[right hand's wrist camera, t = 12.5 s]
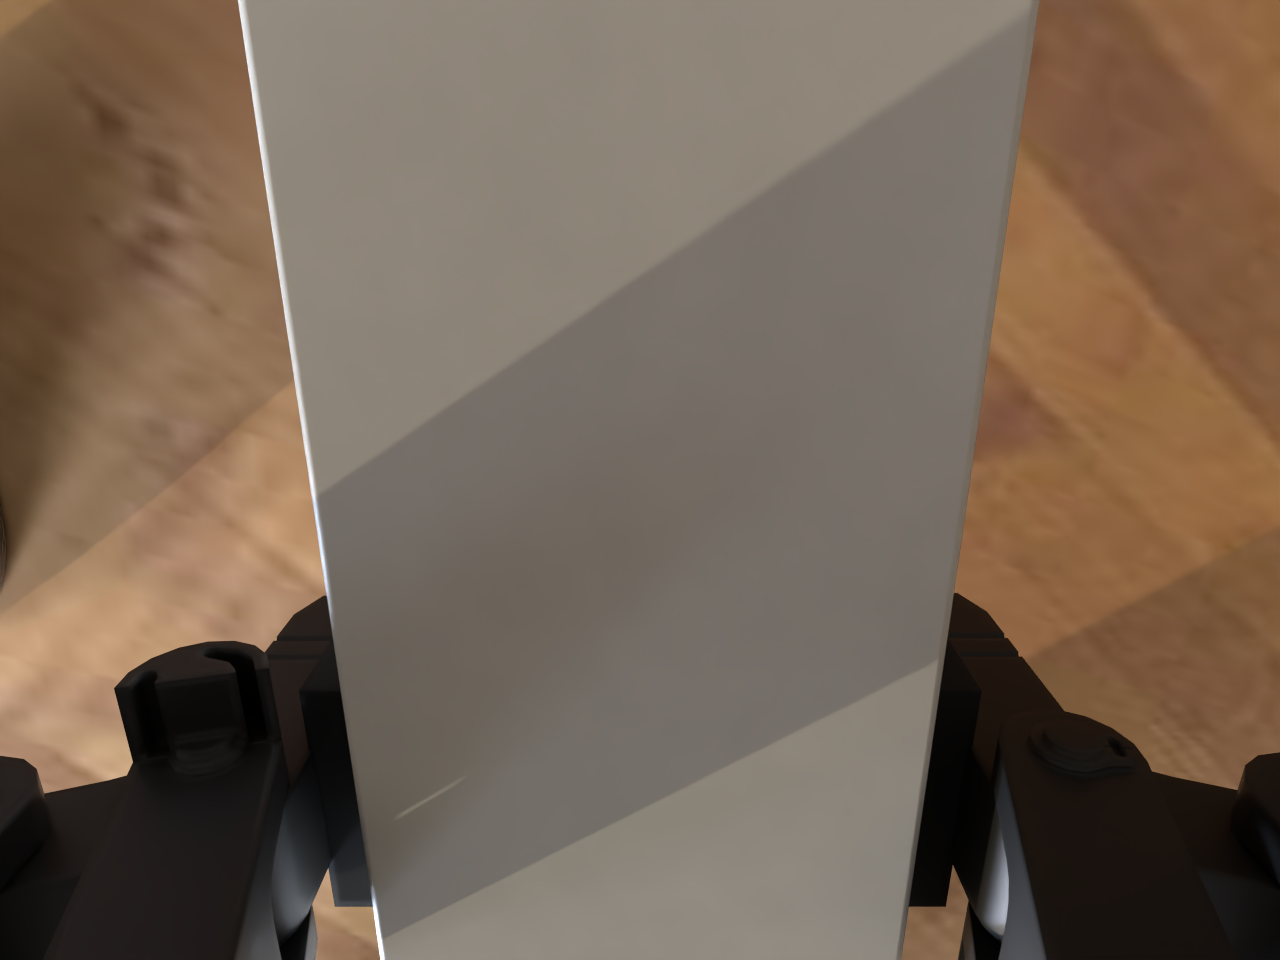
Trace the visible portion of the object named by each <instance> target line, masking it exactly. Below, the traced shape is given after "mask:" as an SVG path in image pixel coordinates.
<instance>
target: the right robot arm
mask: <svg viewBox="0 0 1280 960" xmlns="http://www.w3.org/2000/svg"><path fill="white" fill-rule="evenodd" d="M5 564H6V533H5V527H4V521H3V515H2V511H1V508H0V587H1V584H2V581H3V576H4V570H5ZM114 690H115V694H116V698H117V702H118V705H119V709H120V713H121V717H122V721H123V725H124V729H125V732H126V736H127V740H128V744H129V748H130V752H131V756H132V760H133V764H132V766H131V768H130V770H129V772H128V775H127V776H123V777H120V778H116V779H112V780H108V781H104V782H99V783H94V784H89V785H84V786H79V787H74V788H69V789H65V790H60V791H55V792H50V793H45V794H44V792H43V788H42V785H41V782H40V779H39V775H38V772H37V769H36V768H35V767H33V766H32V765H31V764H29V763H28V762H27V761H26V760H24V759H19V758H12V757H5V756H0V960H315V958H316V949H317V940H318V938H317V931H316V924H315V918H314V912H313V907H312V903H313V901H314V898H315V896H316V894H317V892H318V889H319V887H320V885H321V883H322V880H323V878H324V876H325V874H326V871H327V869H328V868H329V874H330V880H331V886H332V892H333V898H334V904H335V907H373V904H372V897H371V890H370V883H369V877H368V870H367V863H366V857H365V850H364V843H363V836H362V830H361V823H360V816H359V810H358V803H357V796H356V789H355V783H354V776H353V769H352V763H351V756H350V749H349V742H348V736H347V729H346V722H345V716H344V709H343V702H342V695H341V689H340V682H339V675H338V668H337V662H336V655H335V648H334V642H333V635H332V628H331V621H330V615H329V608H328V601H327V596H322V597H321V598H319V599H318V600H316V601H315V602H313V603H311V604H310V605H308V606H307V607H305V608H304V609H302V610H300V611H299V612H297V613H296V614H294V615H293V617H292V618H291V619H290V620H289V622H288V623H287V624H286V626H285V627H284V628H283V629H282V631H281V632H280V633H279V635H278V636H277V641H273V642H272V644H271V645H270V646H269V648H268V649H267V650H266V652H265V653H264V652H263V651H262V650H260V649H259V648H258V647H256V646H255V645H251V644H246V643H242V642H237V641H214V642H204V643H199V644H195V645H190V646H185V647H180V648H177V649H175V650H172V651H169V652H167V653H164V654H162V655H159V656H156V657H154V658H151V659H150V660H148V661H146V662H145V663H143V664H141V665H140V666H138V667H137V668H135V669H133V670H132V671H130V672H128V674H127V675H126V676H125V677H124V678H123V679H122V680H121V681H120V682H119V684H118V685H117V686H116V687H115V688H114ZM952 866H954V868H955V870H956V873H957V875H958V877H959V879H960V882H961V884H962V886H963V888H964V890H965V893H966V895H967V897H968V899H969V901H968V907H967V912H966V918H965V923H964V929H963V935H962V940H961V946H960V951H959V957H958V960H1280V753H1272V754H1265V755H1258V756H1257V757H1256V758H1254V759H1253V760H1252V761H1250V762H1249V763H1248V764H1246V765H1245V768H1244V771H1243V775H1242V778H1241V781H1240V784H1239V788H1238V790H1234V789H1229V788H1224V787H1219V786H1214V785H1210V784H1205V783H1200V782H1195V781H1190V780H1185V779H1180V778H1175V777H1171V776H1167V775H1163V774H1160V773H1156V772H1152V771H1151V769H1150V766H1149V764H1148V762H1147V760H1146V759H1145V758H1144V757H1143V755H1142V754H1141V753H1140V751H1139V750H1138V749H1137V747H1136V746H1135V745H1134V744H1133V743H1132V742H1131V741H1129V740H1128V739H1126V738H1125V737H1124V736H1122V735H1121V734H1119V733H1118V732H1117V731H1115V730H1114V729H1112V728H1111V727H1108V726H1106V725H1104V724H1102V723H1099V722H1097V721H1095V720H1092V719H1090V718H1088V717H1086V716H1082V715H1078V714H1073V713H1069V712H1065V711H1064V710H1063V709H1062V707H1061V706H1060V705H1059V704H1058V702H1057V701H1056V700H1055V698H1054V697H1053V696H1052V695H1051V693H1050V692H1049V691H1048V690H1047V688H1046V687H1045V686H1044V684H1043V683H1042V682H1041V681H1040V679H1039V678H1038V677H1037V675H1036V674H1035V673H1034V672H1033V670H1032V669H1031V668H1030V666H1029V665H1028V664H1027V663H1026V661H1025V660H1024V659H1023V657H1019V656H1018V651H1017V650H1016V648H1015V647H1014V646H1013V645H1012V643H1011V642H1010V641H1009V639H1008V638H1004V633H1003V632H1002V630H1001V629H1000V628H999V627H998V625H997V624H996V623H995V621H994V620H993V619H992V618H991V616H990V615H989V614H988V612H986V611H985V610H983V609H982V608H980V607H979V606H977V605H975V604H974V603H972V602H971V601H969V600H967V599H966V598H964V597H963V596H961V595H960V594H958V593H954V595H953V602H952V609H951V616H950V623H949V630H948V637H947V644H946V651H945V658H944V665H943V671H942V678H941V685H940V692H939V699H938V706H937V713H936V720H935V727H934V734H933V741H932V748H931V755H930V762H929V768H928V775H927V782H926V789H925V796H924V803H923V810H922V817H921V824H920V831H919V838H918V845H917V852H916V859H915V865H914V872H913V879H912V886H911V893H910V900H909V907H946V901H947V895H948V889H949V884H950V878H951V872H952Z"/></svg>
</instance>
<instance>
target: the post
mask: <svg viewBox="0 0 1280 960" xmlns="http://www.w3.org/2000/svg"><path fill="white" fill-rule="evenodd" d="M238 4H239V10H240V17H241V24H242V30H243V37H244V44H245V51H246V57H247V64H248V71H249V77H250V84H251V91H252V98H253V104H254V111H255V118H256V124H257V131H258V138H259V145H260V151H261V158H262V165H263V171H264V178H265V185H266V192H267V198H268V205H269V212H270V218H271V225H272V232H273V239H274V245H275V252H276V259H277V265H278V272H279V279H280V286H281V292H282V299H283V306H284V312H285V319H286V326H287V333H288V339H289V346H290V353H291V360H292V366H293V373H294V380H295V386H296V393H297V400H298V407H299V413H300V420H301V427H302V433H303V440H304V447H305V454H306V460H307V467H308V474H309V480H310V487H311V494H312V501H313V507H314V514H315V521H316V527H317V534H318V541H319V548H320V554H321V561H322V568H323V574H324V581H325V588H326V595H327V601H328V608H329V615H330V621H331V628H332V635H333V642H334V648H335V655H336V662H337V668H338V675H339V682H340V689H341V695H342V702H343V709H344V716H345V722H346V729H347V736H348V742H349V749H350V756H351V763H352V769H353V776H354V783H355V789H356V796H357V803H358V810H359V816H360V823H361V830H362V836H363V843H364V850H365V857H366V863H367V870H368V877H369V883H370V890H371V897H372V904H373V910H374V917H375V924H376V930H377V937H378V944H379V951H380V957H381V960H901V956H902V949H903V942H904V935H905V928H906V921H907V914H908V907H909V900H910V893H911V886H912V879H913V872H914V865H915V859H916V852H917V845H918V838H919V831H920V824H921V817H922V810H923V803H924V796H925V789H926V782H927V775H928V768H929V762H930V755H931V748H932V741H933V734H934V727H935V720H936V713H937V706H938V699H939V692H940V685H941V678H942V671H943V665H944V658H945V651H946V644H947V637H948V630H949V623H950V616H951V609H952V602H953V595H954V588H955V581H956V575H957V568H958V561H959V554H960V547H961V540H962V533H963V526H964V519H965V512H966V505H967V498H968V491H969V484H970V478H971V471H972V464H973V457H974V450H975V443H976V436H977V429H978V422H979V415H980V408H981V401H982V394H983V387H984V381H985V374H986V367H987V360H988V353H989V346H990V339H991V332H992V325H993V318H994V311H995V304H996V297H997V291H998V284H999V277H1000V270H1001V263H1002V256H1003V249H1004V242H1005V235H1006V228H1007V221H1008V214H1009V207H1010V200H1011V194H1012V187H1013V180H1014V173H1015V166H1016V159H1017V152H1018V145H1019V138H1020V131H1021V124H1022V117H1023V110H1024V103H1025V97H1026V90H1027V83H1028V76H1029V69H1030V62H1031V55H1032V48H1033V41H1034V34H1035V27H1036V20H1037V13H1038V6H1039V0H238Z"/></svg>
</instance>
